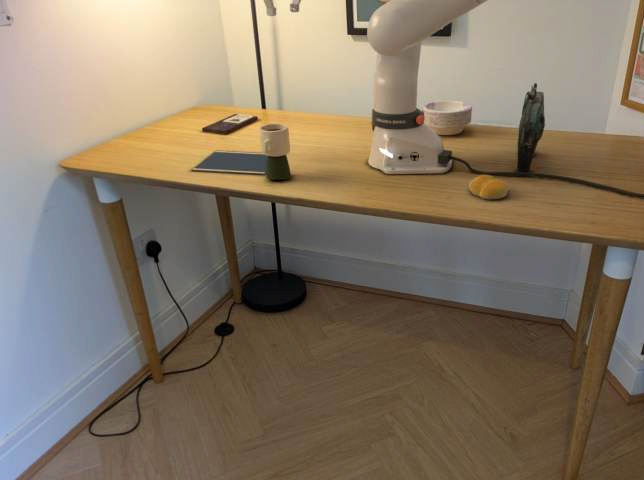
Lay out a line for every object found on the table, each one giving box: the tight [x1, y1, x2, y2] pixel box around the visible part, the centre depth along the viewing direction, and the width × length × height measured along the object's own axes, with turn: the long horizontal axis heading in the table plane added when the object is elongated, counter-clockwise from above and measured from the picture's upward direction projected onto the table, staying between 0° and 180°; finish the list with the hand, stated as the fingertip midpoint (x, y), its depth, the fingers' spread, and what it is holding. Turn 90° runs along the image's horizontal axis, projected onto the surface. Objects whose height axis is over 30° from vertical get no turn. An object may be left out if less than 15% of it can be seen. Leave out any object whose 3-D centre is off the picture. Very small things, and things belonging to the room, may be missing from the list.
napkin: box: [191, 150, 267, 176], centre depth 153 cm, size 20×16×1 cm
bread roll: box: [468, 174, 509, 200], centre depth 132 cm, size 8×9×4 cm
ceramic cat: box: [516, 82, 546, 173], centre depth 145 cm, size 20×6×20 cm, turn 162°
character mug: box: [258, 123, 292, 181], centre depth 140 cm, size 11×7×13 cm, turn 163°
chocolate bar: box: [201, 113, 259, 135], centre depth 184 cm, size 9×1×18 cm
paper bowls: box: [421, 100, 473, 136], centre depth 173 cm, size 15×15×8 cm
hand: (283, 13), depth 136 cm, fingers open, 8 cm apart
